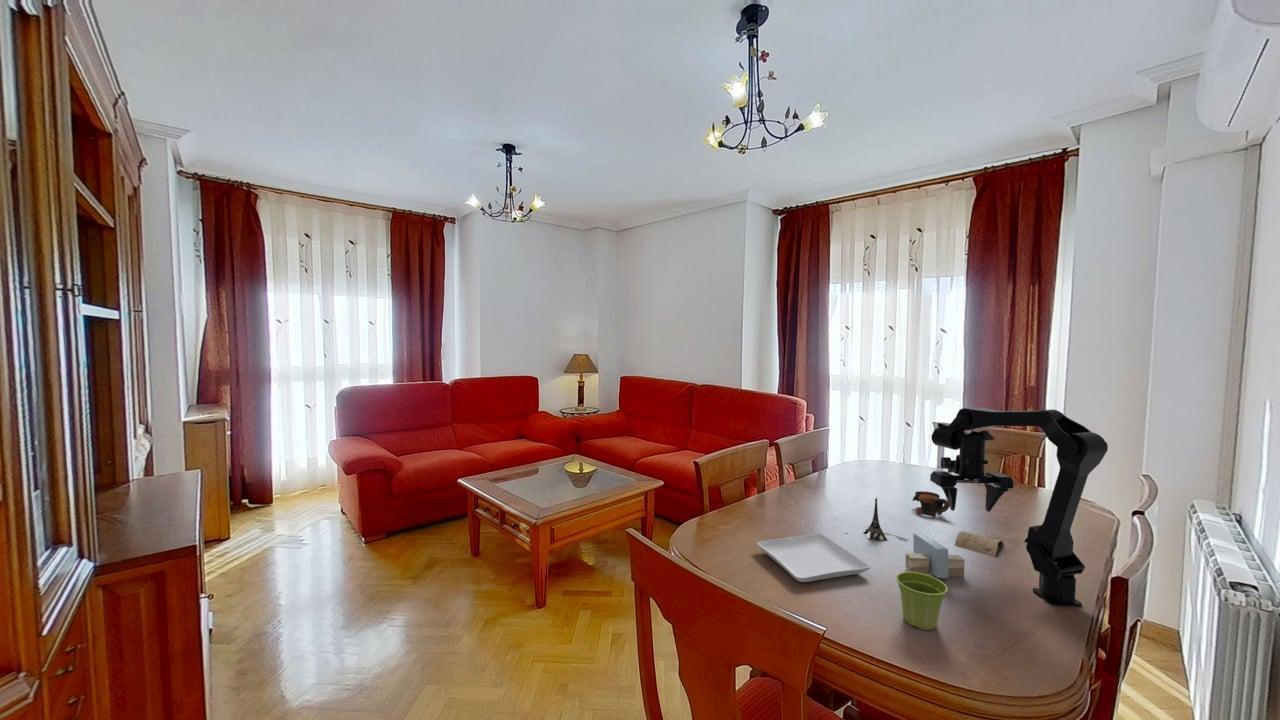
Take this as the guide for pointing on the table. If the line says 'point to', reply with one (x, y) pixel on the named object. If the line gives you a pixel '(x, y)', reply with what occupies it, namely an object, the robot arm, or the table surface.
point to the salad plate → (813, 557)
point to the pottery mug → (930, 503)
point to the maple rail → (922, 564)
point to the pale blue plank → (932, 554)
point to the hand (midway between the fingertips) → (970, 510)
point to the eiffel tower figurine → (878, 528)
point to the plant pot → (921, 598)
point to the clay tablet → (977, 543)
